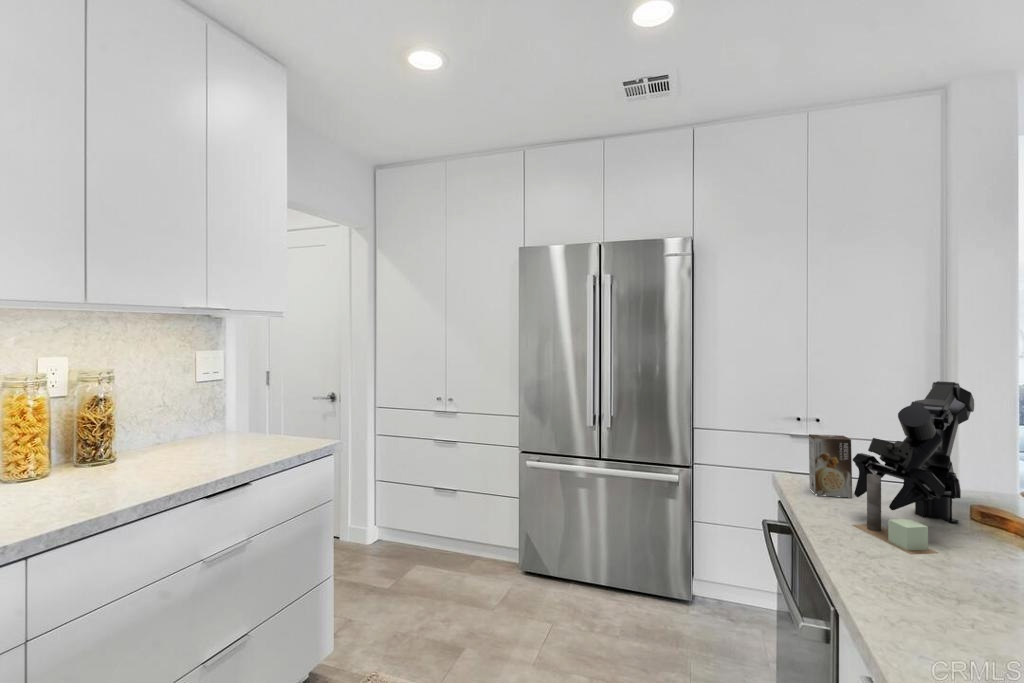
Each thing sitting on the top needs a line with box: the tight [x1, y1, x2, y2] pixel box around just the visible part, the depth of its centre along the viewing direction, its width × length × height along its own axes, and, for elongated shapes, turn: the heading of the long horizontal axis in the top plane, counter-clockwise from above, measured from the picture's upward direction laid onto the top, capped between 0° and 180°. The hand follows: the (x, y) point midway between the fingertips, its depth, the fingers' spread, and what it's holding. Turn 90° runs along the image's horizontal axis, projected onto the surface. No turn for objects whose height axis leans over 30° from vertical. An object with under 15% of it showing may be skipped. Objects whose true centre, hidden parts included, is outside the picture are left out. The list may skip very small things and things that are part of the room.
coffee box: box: [808, 433, 853, 499], centre depth 144 cm, size 9×6×16 cm
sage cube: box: [887, 518, 929, 550], centre depth 107 cm, size 5×5×5 cm
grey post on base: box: [851, 474, 939, 555], centre depth 110 cm, size 6×16×13 cm, turn 4°
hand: (872, 502), depth 116 cm, fingers open, 9 cm apart
